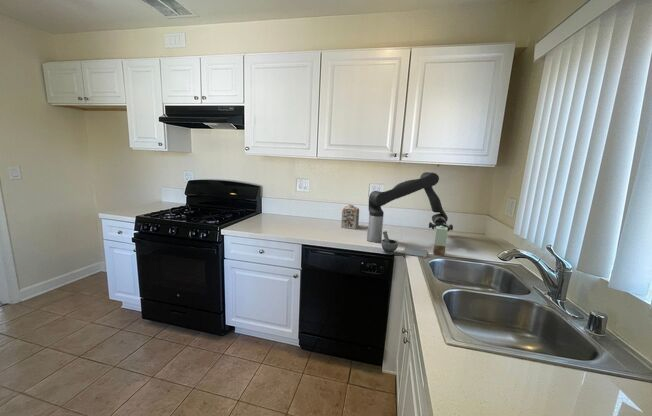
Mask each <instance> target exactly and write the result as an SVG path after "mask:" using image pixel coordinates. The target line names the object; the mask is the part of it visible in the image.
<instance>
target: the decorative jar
mask: <svg viewBox="0 0 652 416" xmlns="http://www.w3.org/2000/svg"><path fill="white" fill-rule="evenodd" d="M359 220H360V209H359V207H357V206H355V205H354V204H351V203H350V204H347V206H343V208H342V211H341V221H340V222H341V223H340V227H341V228H342V229H348V228H349V229H350V230H356V229H357V228H358V227H359V222H360V221H359Z"/></svg>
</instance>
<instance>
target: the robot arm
mask: <svg viewBox="0 0 652 416" xmlns="http://www.w3.org/2000/svg"><path fill="white" fill-rule="evenodd" d="M439 181H440V176H439V175H438V173H436V172H429V171H428V172H422V174H421V175H420V177H419V178H415V179H408V180H404V181H402V182H399V183H398V184H396V185H394V187H393V188H391V189H389V190H385V191H379V190H373V191H371V192H370V193H369V196H368V213H369V214H368V215H369V216H368V219H369V220H368V226H367V232H366V233H367V235H366V241H369V242H371V243H381V240H383V239H382V238H383V228H384V227H383V226H384V225H383V224H384V215H385V214H384V210H383V209H382V206H385V205H387V204H389V203H391V202H393V201H395V200H397V199H400V198H403V197H406V196H408V195H411V194H413V193H416V192H418V191H421V190H424V191H425V194H426V196H427V198H428V201H429V205H430V208H431V210H432V212H433V213H436V214H433V215H432V216H431V221H432V222H431V221H429V224H428V228H429V229H430V228H431V229H432V230H433V231H434V230H436V226H444V227H447V229H448V232H450V231H453V230H454V225H453V224H452V223H451V224H447V221H448V220H449V219H448V218H449V217H448V215H447V214H446V212H445V211H444V208H443V206H442V202H441V199H440V198H439V195H438V194H437V193H436V191H435V190H434V188H433V187H434V186H436V185H437V184H438V183H439Z"/></svg>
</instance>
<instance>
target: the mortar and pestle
mask: <svg viewBox="0 0 652 416" xmlns="http://www.w3.org/2000/svg"><path fill="white" fill-rule="evenodd" d="M382 236H383V239H382V240H381V242H380V244H381V248H382V250H383V253H384V254H385V255H394V254H395V251H396V250H397V249H398V247H399V242H398V241H397V240H395V239H392V238H391V239H390V238H389V235H388V231H387V230H384V231H382Z"/></svg>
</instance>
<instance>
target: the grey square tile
mask: <svg viewBox="0 0 652 416" xmlns="http://www.w3.org/2000/svg"><path fill="white" fill-rule="evenodd" d="M402 255H405V256H409V257H410V256H411V257H417V258H423V257H425V258H424V259H427V258H428V249H423V248H415V247H408V246H405V247H404V249H403V253H402ZM418 256H419V257H418Z"/></svg>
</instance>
